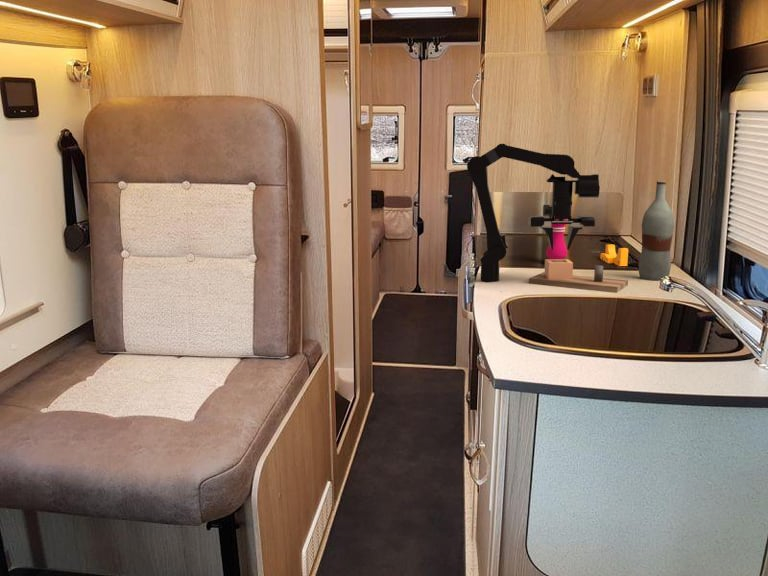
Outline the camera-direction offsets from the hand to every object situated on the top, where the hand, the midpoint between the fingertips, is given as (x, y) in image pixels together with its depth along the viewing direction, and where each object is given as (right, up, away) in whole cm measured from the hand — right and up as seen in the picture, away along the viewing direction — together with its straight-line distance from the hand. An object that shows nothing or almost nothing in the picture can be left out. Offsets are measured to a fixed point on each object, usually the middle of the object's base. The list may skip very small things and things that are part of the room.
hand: (559, 249), depth 188 cm
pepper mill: (+8, -4, +32) cm, 34 cm away
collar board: (+5, -10, -1) cm, 12 cm away
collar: (0, -8, +2) cm, 9 cm away
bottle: (+31, -9, +7) cm, 33 cm away
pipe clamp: (+29, -3, +34) cm, 45 cm away
